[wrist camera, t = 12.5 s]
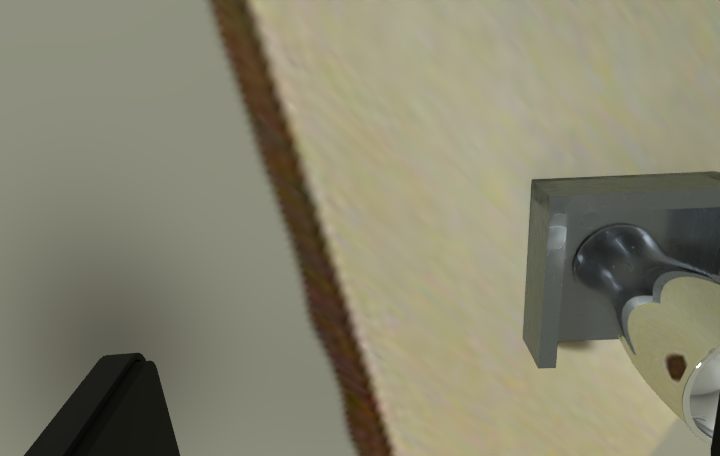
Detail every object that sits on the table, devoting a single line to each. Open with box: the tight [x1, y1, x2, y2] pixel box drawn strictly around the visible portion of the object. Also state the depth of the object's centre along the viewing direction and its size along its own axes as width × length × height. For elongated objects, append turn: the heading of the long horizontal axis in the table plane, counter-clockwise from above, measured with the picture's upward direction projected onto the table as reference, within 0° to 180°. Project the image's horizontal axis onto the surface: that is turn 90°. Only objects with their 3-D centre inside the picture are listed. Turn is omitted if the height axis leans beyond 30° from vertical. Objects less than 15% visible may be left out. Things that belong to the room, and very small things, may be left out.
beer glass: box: [574, 225, 720, 446], centre depth 32 cm, size 7×7×15 cm
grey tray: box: [523, 172, 720, 368], centre depth 38 cm, size 12×12×4 cm
